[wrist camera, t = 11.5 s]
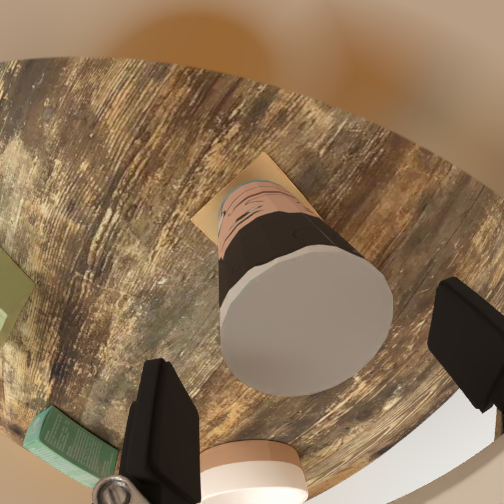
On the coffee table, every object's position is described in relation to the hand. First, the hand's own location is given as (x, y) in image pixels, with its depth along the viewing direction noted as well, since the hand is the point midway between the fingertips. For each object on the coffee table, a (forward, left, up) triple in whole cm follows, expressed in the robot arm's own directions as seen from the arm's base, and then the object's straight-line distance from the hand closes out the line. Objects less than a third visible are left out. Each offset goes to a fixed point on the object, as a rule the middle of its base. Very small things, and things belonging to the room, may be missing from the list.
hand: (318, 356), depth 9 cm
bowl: (+28, +29, -17) cm, 44 cm away
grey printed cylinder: (0, 0, -17) cm, 17 cm away
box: (+43, +5, -17) cm, 47 cm away
